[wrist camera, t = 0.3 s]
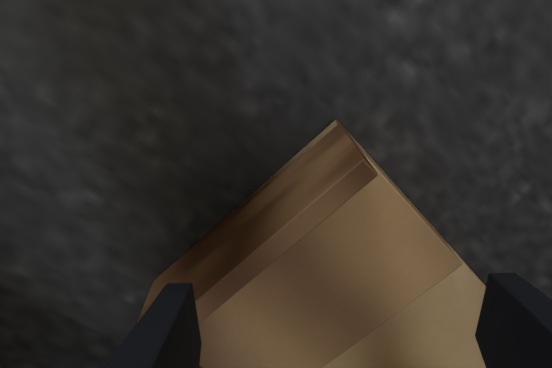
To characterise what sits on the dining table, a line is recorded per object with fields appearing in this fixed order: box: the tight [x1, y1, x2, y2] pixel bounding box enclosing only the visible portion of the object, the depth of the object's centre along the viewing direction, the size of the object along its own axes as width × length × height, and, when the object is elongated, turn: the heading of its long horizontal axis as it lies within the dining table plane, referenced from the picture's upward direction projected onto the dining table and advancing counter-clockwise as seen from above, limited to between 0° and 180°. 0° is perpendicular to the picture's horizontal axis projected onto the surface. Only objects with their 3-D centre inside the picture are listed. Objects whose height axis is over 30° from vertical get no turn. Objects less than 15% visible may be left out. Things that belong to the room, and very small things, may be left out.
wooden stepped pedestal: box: [136, 120, 486, 368], centre depth 21 cm, size 12×16×6 cm
